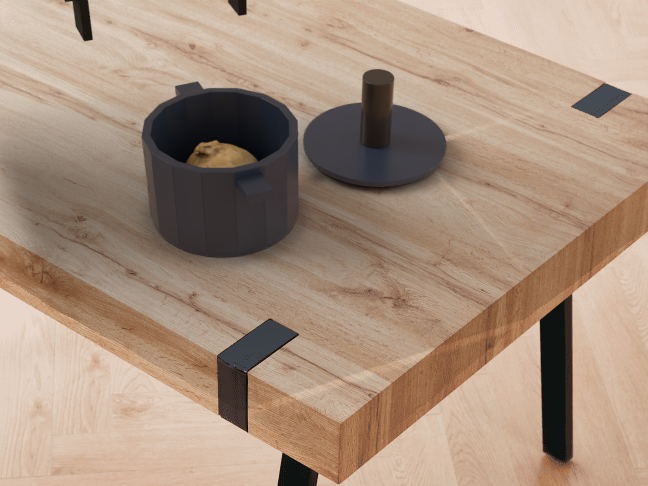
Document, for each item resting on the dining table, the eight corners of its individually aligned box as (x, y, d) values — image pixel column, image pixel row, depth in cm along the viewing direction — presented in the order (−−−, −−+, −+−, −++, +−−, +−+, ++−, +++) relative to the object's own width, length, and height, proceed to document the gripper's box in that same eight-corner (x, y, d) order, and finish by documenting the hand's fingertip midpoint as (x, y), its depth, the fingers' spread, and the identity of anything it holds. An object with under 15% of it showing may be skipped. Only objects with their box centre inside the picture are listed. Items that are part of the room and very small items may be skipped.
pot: (189, 291, 95) (181, 205, 89) (125, 173, 108) (114, 91, 102) (333, 251, 100) (335, 167, 94) (256, 143, 113) (253, 63, 107)
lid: (339, 205, 106) (342, 130, 100) (281, 128, 115) (279, 55, 110) (471, 171, 111) (481, 98, 105) (404, 100, 121) (409, 29, 115)
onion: (245, 175, 108) (242, 114, 103) (280, 218, 103) (279, 156, 98) (170, 196, 105) (163, 134, 100) (202, 242, 100) (197, 179, 95)
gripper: (-23, -216, 72) (25, 66, 86) (320, -241, 81) (313, 17, 95) (-44, -249, 76) (5, 23, 91) (282, -269, 86) (280, -19, 100)
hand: (162, 21), depth 93 cm, fingers open, 13 cm apart
